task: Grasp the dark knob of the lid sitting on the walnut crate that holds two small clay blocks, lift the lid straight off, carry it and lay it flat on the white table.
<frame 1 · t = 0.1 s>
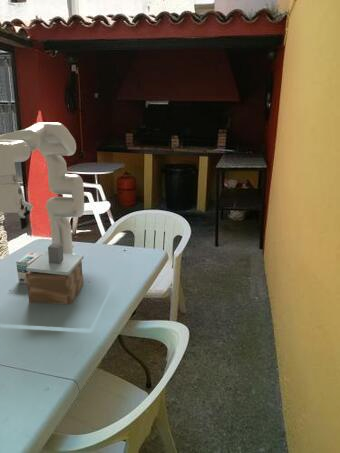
hand: (10, 227, 123), 31 cm above the table, tool pointing down, fingers open, 9 cm apart
crate: (57, 295, 141), on the table
light bulb box: (32, 280, 153), on the table
clay block A: (55, 295, 138), point 1 cm above the table, touching crate
lid: (56, 264, 135), point 14 cm above the table, touching crate
clay block B: (59, 289, 143), point 1 cm above the table, touching crate
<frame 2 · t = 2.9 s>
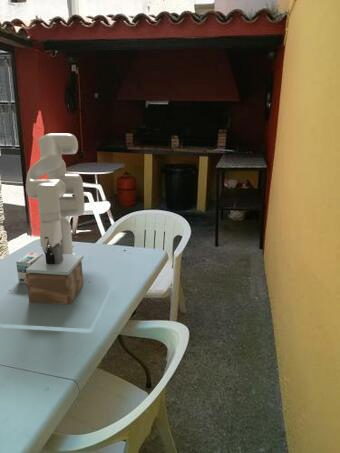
hand: (54, 259, 136), 16 cm above the table, tool pointing down, fingers open, 6 cm apart
lid: (56, 264, 135), point 14 cm above the table, touching gripper
everything else where it was.
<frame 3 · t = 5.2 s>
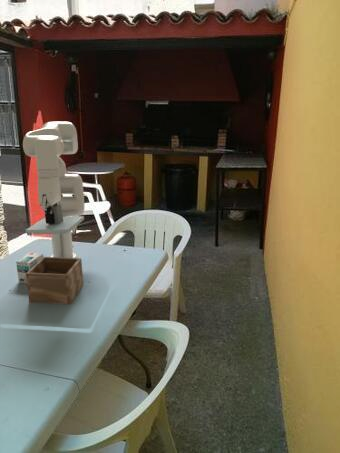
hand: (53, 221, 131), 31 cm above the table, tool pointing down, fingers closed on lid, 4 cm apart
lid: (56, 225, 132), point 29 cm above the table, touching gripper
everything else where it was.
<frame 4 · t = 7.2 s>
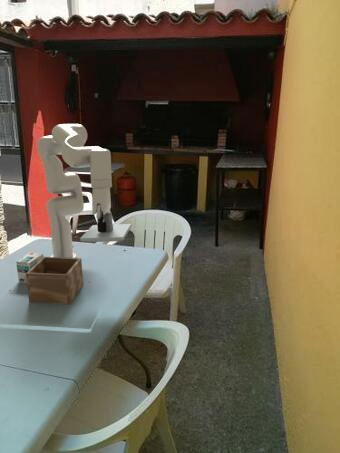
hand: (103, 229, 135), 27 cm above the table, tool pointing down, fingers closed on lid, 4 cm apart
lid: (107, 233, 135), point 26 cm above the table, touching gripper
everything else where it was.
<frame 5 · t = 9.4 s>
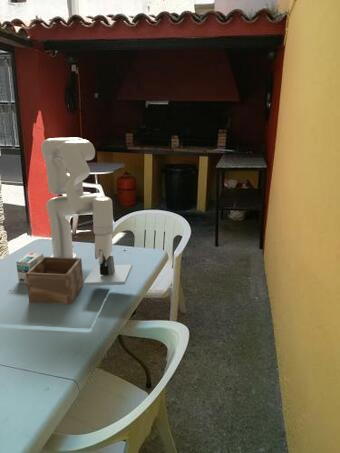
hand: (105, 271, 140), 9 cm above the table, tool pointing down, fingers closed on lid, 4 cm apart
lid: (109, 275, 141), point 8 cm above the table, touching gripper
everything else where it was.
when the fingers open (4 cm above the table, at t = 11.2 s): lid drops 2 cm, point 1 cm above the table.
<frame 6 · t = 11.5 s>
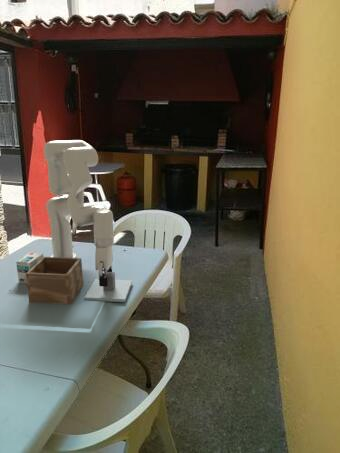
hand: (106, 281, 142), 5 cm above the table, tool pointing down, fingers open, 7 cm apart
lid: (109, 291, 143), point 1 cm above the table
everything else where it was.
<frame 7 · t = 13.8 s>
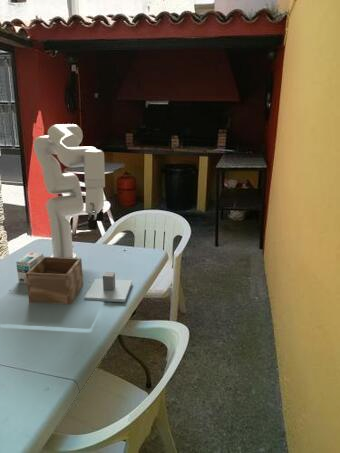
hand: (96, 224, 139), 28 cm above the table, tool pointing down, fingers open, 9 cm apart
nothing on the table moved.
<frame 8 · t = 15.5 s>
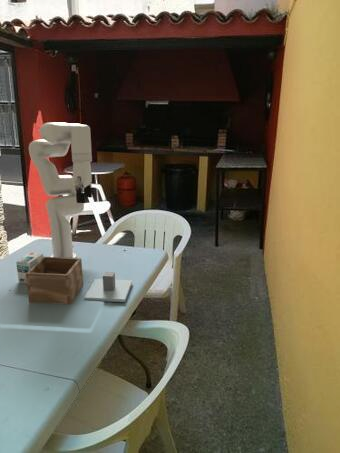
hand: (84, 199, 142), 36 cm above the table, tool pointing down, fingers open, 9 cm apart
nothing on the table moved.
at the end: lid inside the target area (1.2 cm from its centre), point 0.6 cm above the table; lid tilted 0°; the gripper is holding nothing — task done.
